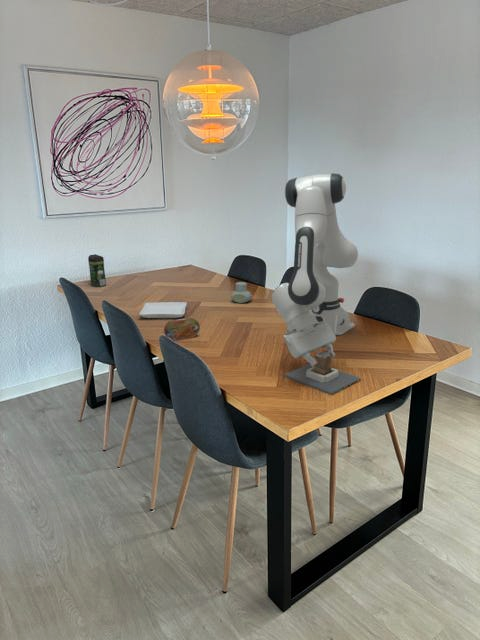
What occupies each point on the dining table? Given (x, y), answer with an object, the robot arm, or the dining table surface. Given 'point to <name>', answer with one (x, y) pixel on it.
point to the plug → (323, 363)
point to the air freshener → (241, 293)
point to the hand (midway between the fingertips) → (324, 360)
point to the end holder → (322, 379)
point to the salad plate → (163, 310)
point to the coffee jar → (97, 270)
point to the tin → (181, 329)
